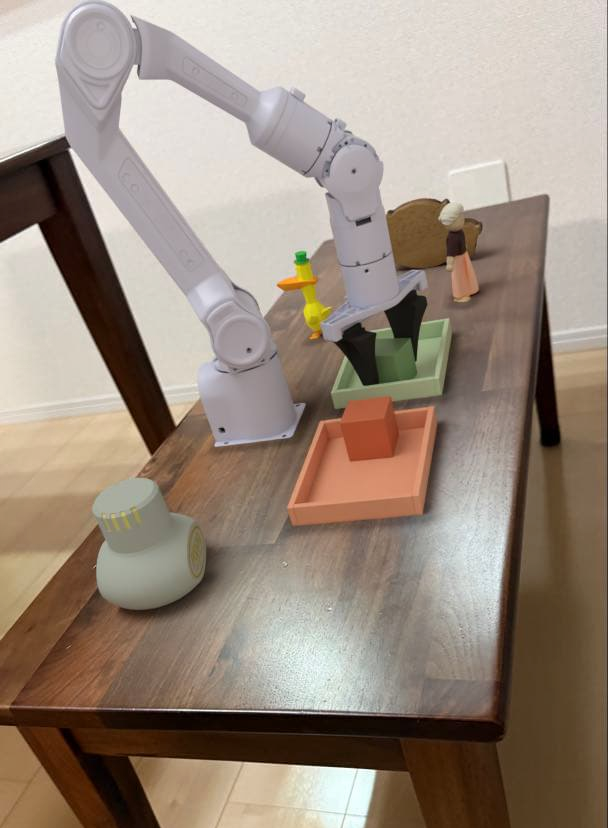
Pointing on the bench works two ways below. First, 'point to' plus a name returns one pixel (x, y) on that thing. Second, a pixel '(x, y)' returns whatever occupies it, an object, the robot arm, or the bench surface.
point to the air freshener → (145, 547)
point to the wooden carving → (424, 233)
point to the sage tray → (424, 384)
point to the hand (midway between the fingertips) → (390, 372)
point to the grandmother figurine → (458, 253)
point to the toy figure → (307, 293)
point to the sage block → (395, 360)
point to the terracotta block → (370, 428)
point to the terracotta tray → (365, 475)
